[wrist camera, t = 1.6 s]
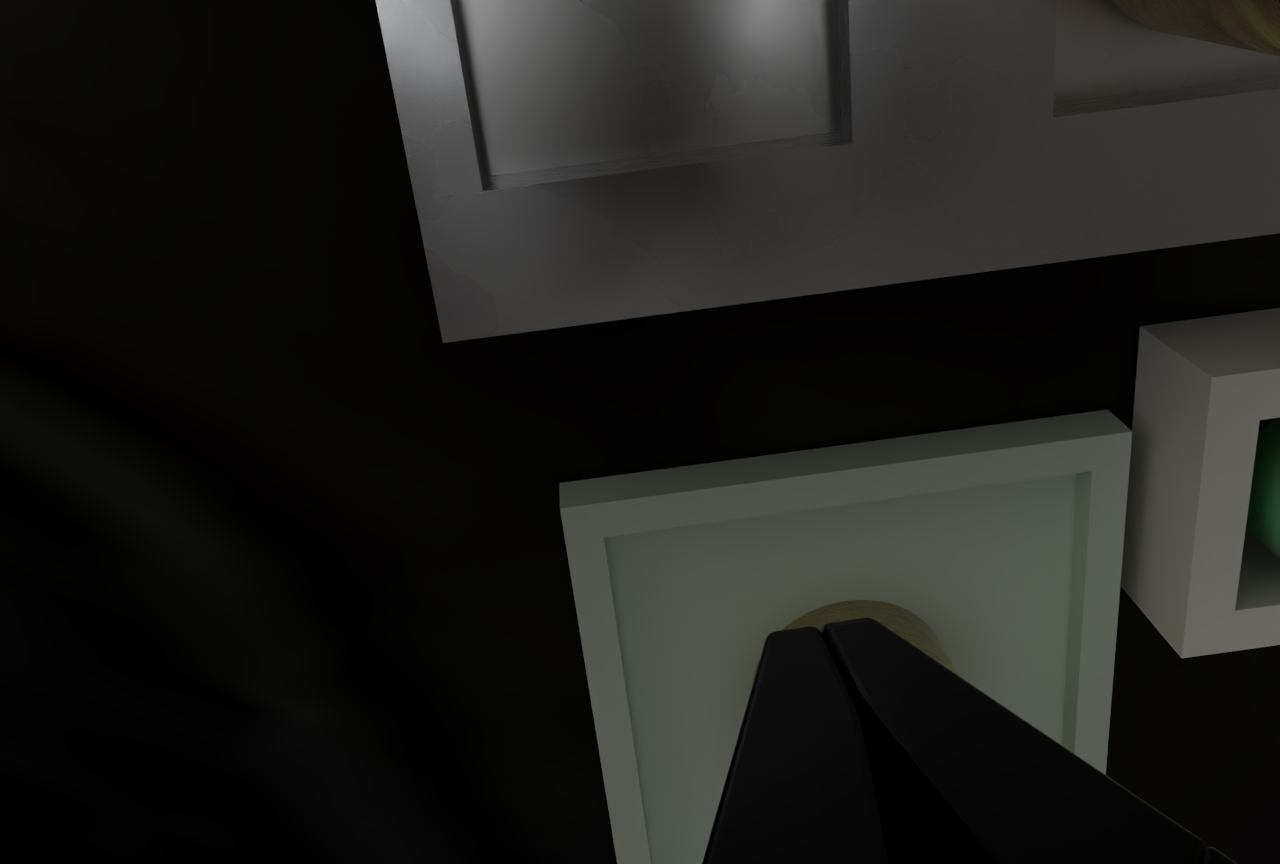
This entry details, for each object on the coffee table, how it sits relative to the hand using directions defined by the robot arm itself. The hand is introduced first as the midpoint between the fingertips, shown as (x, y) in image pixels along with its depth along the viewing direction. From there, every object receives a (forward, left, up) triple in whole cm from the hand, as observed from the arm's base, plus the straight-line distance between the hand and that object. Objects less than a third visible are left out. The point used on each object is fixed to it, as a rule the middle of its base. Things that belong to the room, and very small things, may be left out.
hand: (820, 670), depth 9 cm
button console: (-5, -11, -12) cm, 17 cm away
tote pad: (-9, -3, -12) cm, 15 cm away
